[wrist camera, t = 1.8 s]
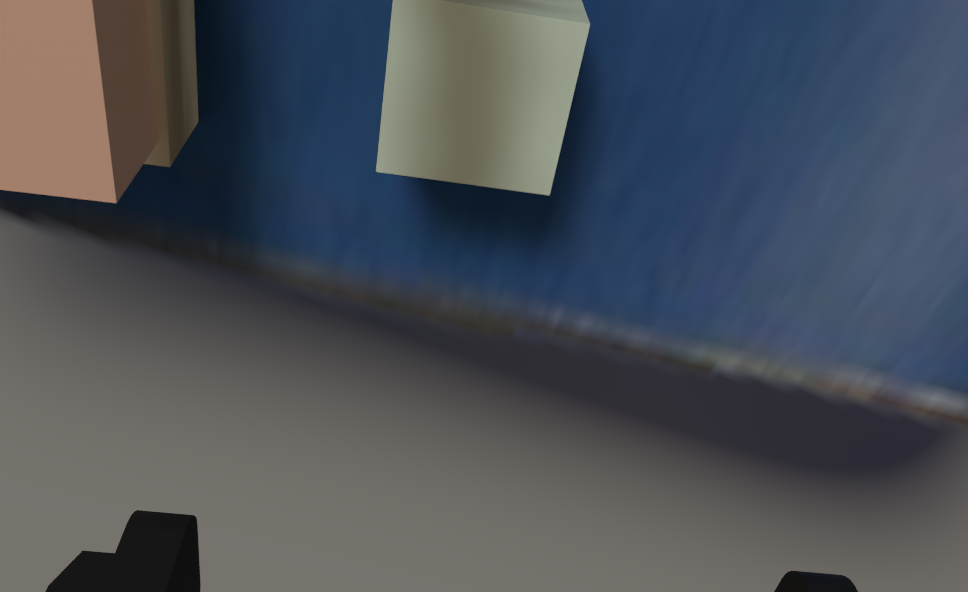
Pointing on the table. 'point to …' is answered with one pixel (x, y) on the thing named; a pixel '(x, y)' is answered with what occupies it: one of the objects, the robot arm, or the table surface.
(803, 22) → the table surface
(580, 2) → the sage cube
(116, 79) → the tower top block
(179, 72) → the tower base block
